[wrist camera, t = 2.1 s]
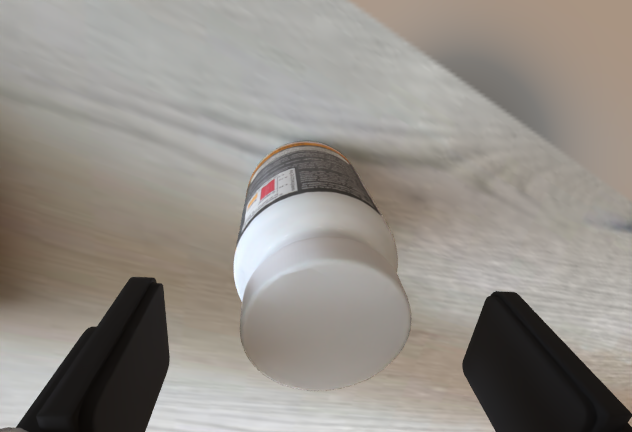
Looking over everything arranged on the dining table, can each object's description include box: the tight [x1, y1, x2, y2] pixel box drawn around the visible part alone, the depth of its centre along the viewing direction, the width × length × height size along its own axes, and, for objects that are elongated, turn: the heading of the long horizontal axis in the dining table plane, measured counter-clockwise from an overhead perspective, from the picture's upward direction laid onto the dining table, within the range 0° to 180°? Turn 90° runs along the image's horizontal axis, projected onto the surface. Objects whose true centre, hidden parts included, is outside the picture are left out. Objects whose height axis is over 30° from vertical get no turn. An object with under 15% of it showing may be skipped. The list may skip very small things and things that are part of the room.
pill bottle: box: [234, 141, 411, 391], centre depth 14 cm, size 6×6×10 cm
